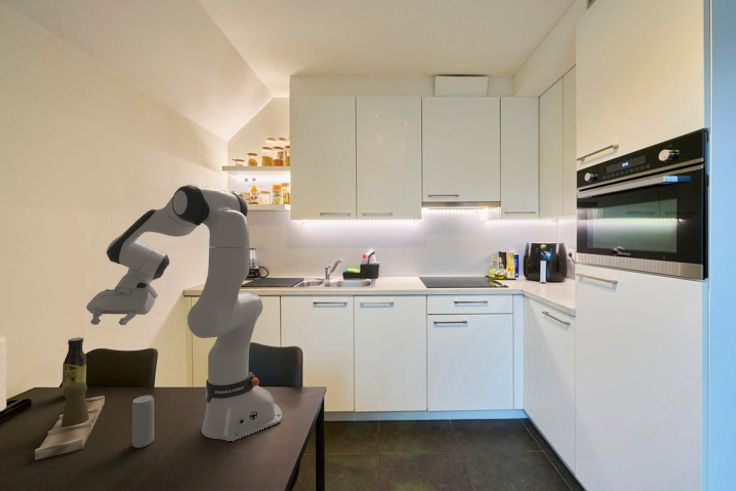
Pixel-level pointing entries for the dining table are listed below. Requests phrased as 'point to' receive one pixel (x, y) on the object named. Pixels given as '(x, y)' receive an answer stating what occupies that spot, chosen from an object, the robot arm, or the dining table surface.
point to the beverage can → (142, 421)
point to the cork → (75, 405)
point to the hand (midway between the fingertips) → (107, 324)
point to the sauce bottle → (74, 364)
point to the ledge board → (70, 433)
